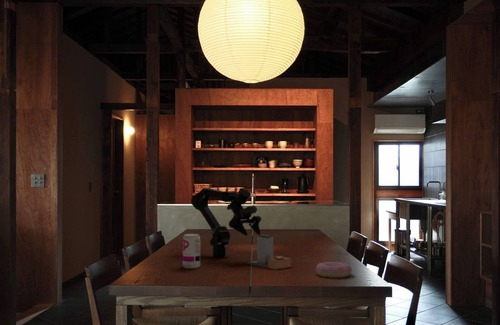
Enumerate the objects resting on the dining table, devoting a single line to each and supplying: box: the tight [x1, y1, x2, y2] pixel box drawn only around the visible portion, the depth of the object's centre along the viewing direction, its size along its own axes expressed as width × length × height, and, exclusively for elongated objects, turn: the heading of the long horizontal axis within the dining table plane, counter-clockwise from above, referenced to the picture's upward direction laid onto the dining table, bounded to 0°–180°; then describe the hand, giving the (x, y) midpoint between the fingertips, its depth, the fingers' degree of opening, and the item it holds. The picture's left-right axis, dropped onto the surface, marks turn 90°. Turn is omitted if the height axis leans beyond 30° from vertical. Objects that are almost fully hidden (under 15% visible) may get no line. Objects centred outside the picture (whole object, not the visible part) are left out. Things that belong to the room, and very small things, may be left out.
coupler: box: [247, 255, 292, 271], centre depth 239 cm, size 19×10×5 cm, turn 43°
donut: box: [315, 261, 352, 279], centre depth 217 cm, size 16×15×5 cm
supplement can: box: [182, 233, 201, 269], centre depth 236 cm, size 8×8×15 cm
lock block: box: [256, 234, 274, 264], centre depth 241 cm, size 6×6×13 cm
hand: (253, 234), depth 248 cm, fingers open, 9 cm apart
